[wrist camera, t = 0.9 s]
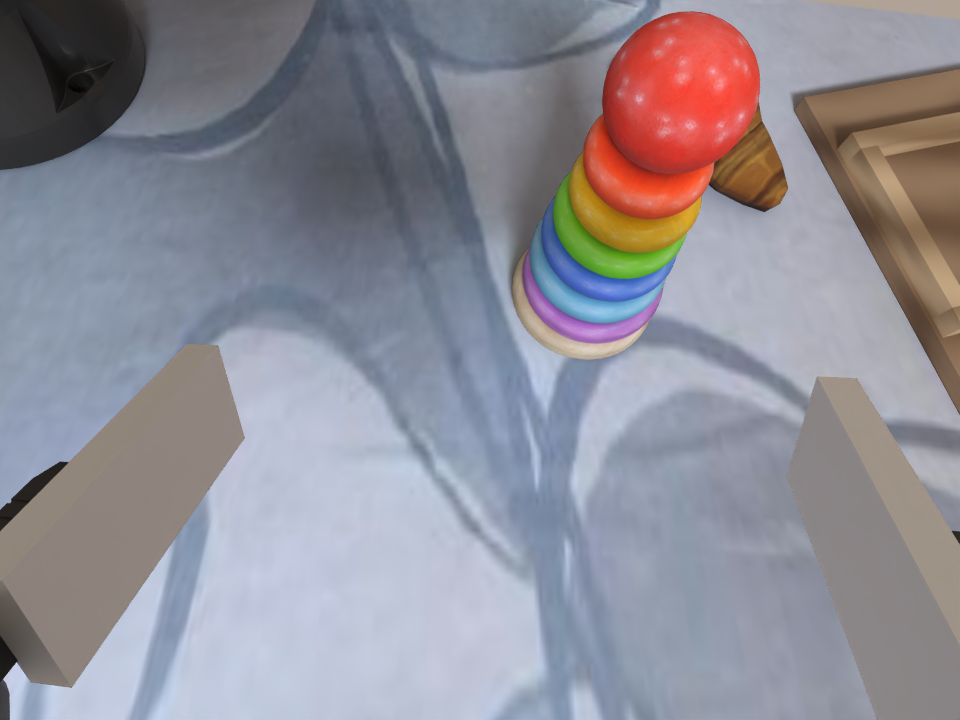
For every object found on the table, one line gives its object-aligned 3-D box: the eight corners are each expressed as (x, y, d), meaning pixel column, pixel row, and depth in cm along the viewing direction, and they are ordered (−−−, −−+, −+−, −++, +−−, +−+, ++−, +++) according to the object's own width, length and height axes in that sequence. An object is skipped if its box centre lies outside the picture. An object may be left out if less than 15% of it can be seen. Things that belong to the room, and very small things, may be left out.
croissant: (802, 185, 42) (850, 132, 37) (738, 244, 40) (780, 195, 35) (648, 57, 44) (675, -7, 40) (581, 106, 42) (600, 44, 38)
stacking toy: (528, 224, 39) (615, -90, 21) (657, 261, 38) (852, -25, 21) (494, 341, 36) (563, 89, 18) (633, 381, 36) (837, 166, 18)
